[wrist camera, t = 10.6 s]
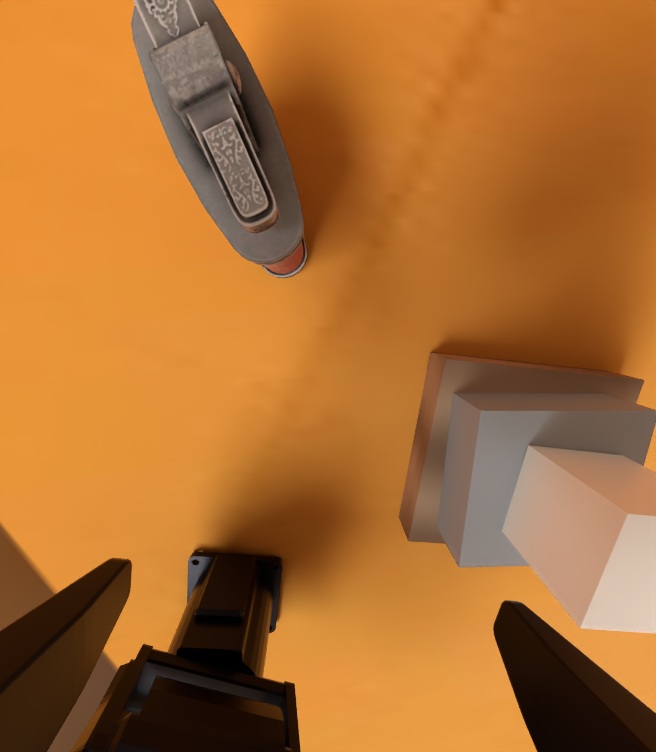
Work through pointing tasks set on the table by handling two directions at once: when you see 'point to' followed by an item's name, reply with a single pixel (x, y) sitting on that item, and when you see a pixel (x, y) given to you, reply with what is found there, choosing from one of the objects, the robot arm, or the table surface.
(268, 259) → the lighter
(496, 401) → the top block
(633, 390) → the base block
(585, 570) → the cube
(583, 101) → the table surface
